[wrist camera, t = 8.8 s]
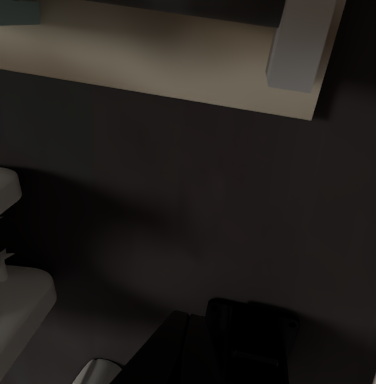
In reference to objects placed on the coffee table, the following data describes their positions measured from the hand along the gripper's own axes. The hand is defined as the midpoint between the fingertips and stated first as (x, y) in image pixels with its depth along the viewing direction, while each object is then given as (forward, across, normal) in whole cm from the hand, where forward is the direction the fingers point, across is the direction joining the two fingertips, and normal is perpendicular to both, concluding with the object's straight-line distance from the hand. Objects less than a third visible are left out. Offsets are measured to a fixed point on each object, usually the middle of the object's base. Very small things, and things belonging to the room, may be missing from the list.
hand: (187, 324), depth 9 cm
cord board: (+13, +9, -8) cm, 18 cm away
